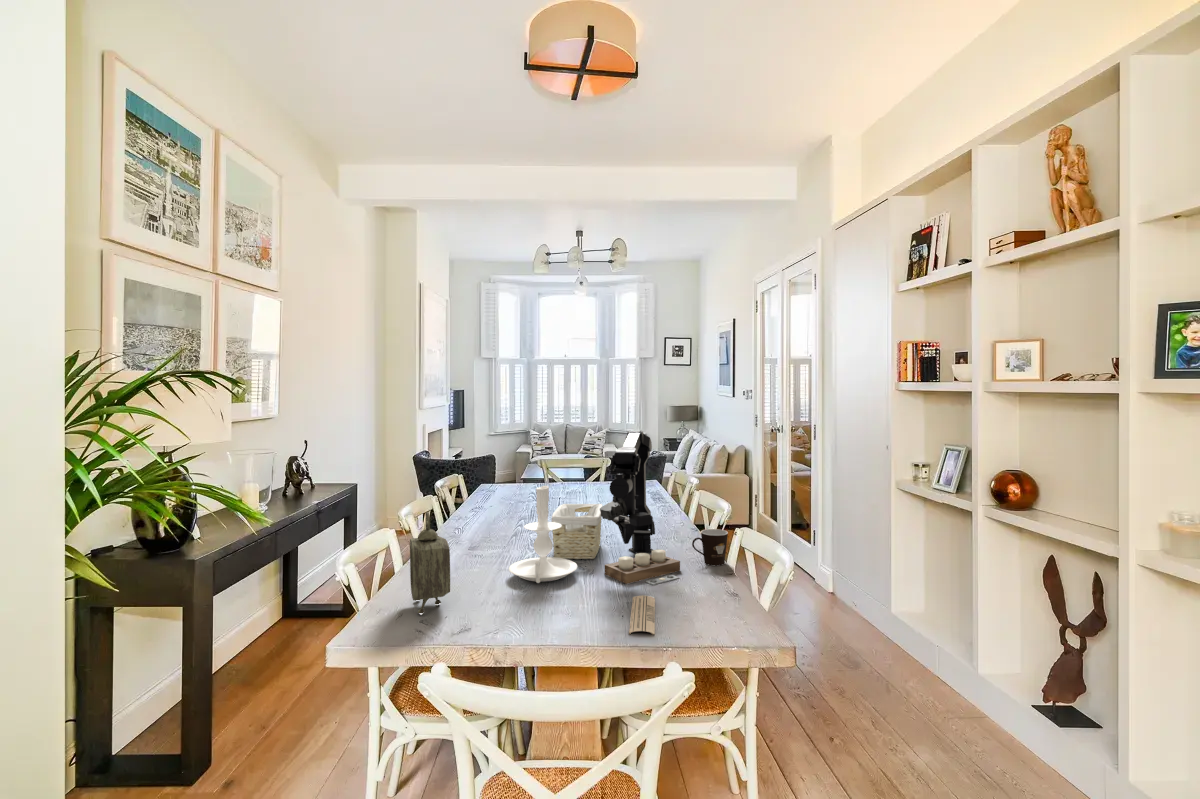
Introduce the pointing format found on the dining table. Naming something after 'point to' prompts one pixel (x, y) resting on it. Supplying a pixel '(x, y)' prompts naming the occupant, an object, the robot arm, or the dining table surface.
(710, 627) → the dining table surface
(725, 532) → the coffee mug
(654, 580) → the card
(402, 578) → the dining table surface
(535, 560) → the candlestick
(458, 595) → the dining table surface
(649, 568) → the wooden compartment tray
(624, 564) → the button
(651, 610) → the newspaper
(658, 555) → the button
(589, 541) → the storage basket
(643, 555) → the button
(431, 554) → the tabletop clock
